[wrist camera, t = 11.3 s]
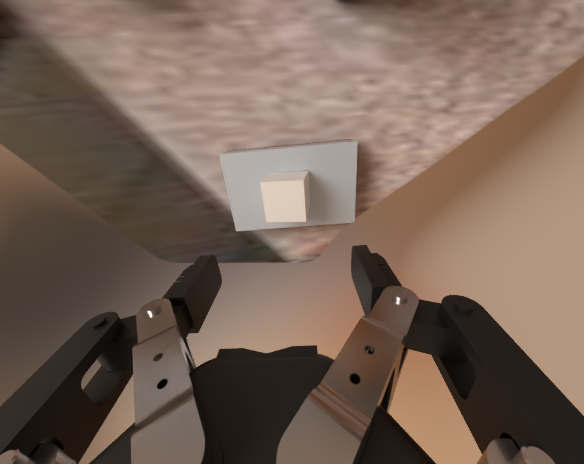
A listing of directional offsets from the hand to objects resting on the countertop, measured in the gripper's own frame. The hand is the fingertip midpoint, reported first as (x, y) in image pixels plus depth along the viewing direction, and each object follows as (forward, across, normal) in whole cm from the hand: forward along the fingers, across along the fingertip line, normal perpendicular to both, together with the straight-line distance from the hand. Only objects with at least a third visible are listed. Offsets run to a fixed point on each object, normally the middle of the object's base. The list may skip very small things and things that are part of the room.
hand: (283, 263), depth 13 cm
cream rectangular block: (+19, 0, 0) cm, 19 cm away
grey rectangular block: (+20, 0, 0) cm, 20 cm away
